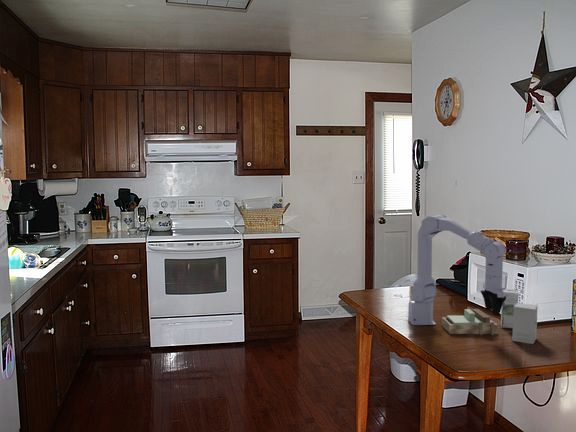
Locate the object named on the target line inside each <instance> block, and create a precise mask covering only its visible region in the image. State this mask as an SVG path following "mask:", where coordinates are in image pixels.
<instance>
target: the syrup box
mask: <svg viewBox="0 0 576 432" xmlns="http://www.w3.org/2000/svg"><path fill="white" fill-rule="evenodd" d="M503 292H504V296H505V297H506V300H505V301H504V303H503V305H502V307H501V311H500V327H501V328H502V329H512V330H513V311H514V306H515V305H516V303H519V290H518V289H509V288H507V289H506V288H505V290H503Z"/></svg>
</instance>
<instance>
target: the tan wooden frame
mask: <svg viewBox="0 0 576 432" xmlns="http://www.w3.org/2000/svg"><path fill="white" fill-rule="evenodd" d="M490 321H492V322H491V325H483V322H479V325H454V324H453V323H452V322H451V321H450V320H449V319H448V318H447V316H446V317H441V327H442V328H443V329H444V330H445V331H446V332H447V333H448V334H450V335H479V336H483V335H491V336H494V335H498V331H499V330H498V328H499V325H498V323H496V322H495V321H493V320H492V319H491V318H490Z"/></svg>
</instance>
